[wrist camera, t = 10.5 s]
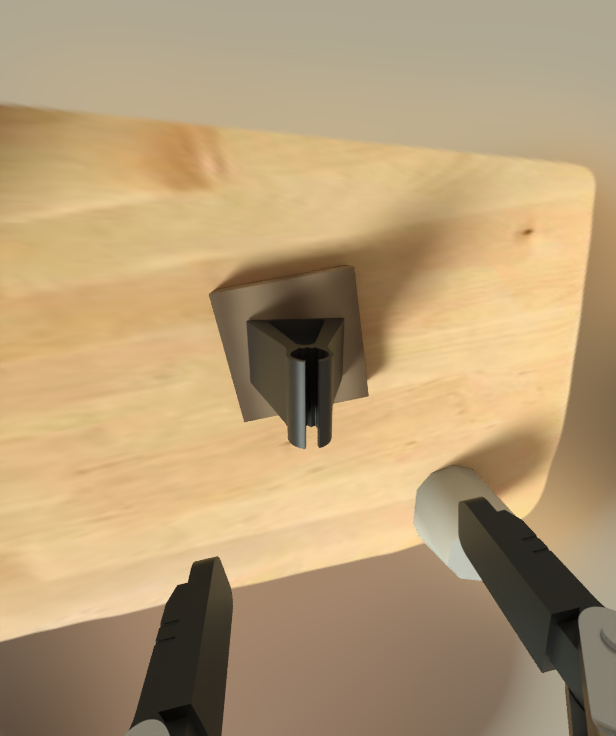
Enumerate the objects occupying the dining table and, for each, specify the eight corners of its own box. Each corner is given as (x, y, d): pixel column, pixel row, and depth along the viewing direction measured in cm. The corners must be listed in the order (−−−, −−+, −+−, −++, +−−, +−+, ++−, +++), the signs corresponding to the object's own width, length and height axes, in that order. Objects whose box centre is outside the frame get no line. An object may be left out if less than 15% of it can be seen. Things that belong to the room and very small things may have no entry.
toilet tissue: (410, 546, 47) (440, 608, 39) (419, 468, 42) (455, 520, 34) (470, 538, 48) (511, 598, 40) (485, 462, 43) (536, 511, 35)
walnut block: (246, 408, 36) (244, 422, 33) (214, 289, 31) (208, 294, 29) (361, 384, 37) (368, 396, 34) (346, 265, 32) (353, 266, 29)
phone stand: (343, 317, 31) (387, 358, 20) (341, 376, 33) (379, 444, 22) (246, 319, 30) (234, 363, 19) (250, 380, 32) (241, 453, 21)
